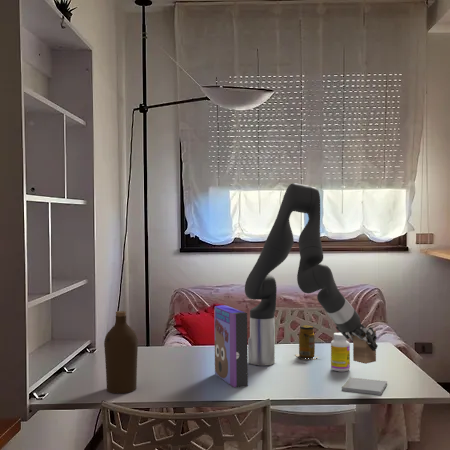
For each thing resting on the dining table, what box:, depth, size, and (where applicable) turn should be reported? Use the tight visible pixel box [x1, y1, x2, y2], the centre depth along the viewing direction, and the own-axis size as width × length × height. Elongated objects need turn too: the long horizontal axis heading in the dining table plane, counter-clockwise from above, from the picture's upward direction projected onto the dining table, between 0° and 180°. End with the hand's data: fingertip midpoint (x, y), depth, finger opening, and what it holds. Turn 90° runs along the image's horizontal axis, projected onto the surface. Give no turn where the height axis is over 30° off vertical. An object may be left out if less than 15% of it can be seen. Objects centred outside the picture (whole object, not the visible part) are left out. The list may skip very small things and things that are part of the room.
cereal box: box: [213, 304, 249, 389], centre depth 192 cm, size 17×5×24 cm, turn 22°
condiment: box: [295, 324, 319, 361], centre depth 222 cm, size 7×8×12 cm
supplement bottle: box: [330, 332, 351, 373], centre depth 204 cm, size 7×7×13 cm
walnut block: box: [352, 327, 377, 364], centre depth 182 cm, size 5×5×10 cm
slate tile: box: [341, 376, 388, 396], centre depth 183 cm, size 12×12×1 cm
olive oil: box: [103, 310, 139, 394], centre depth 183 cm, size 11×11×25 cm
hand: (368, 347), depth 183 cm, fingers closed on walnut block, 5 cm apart
